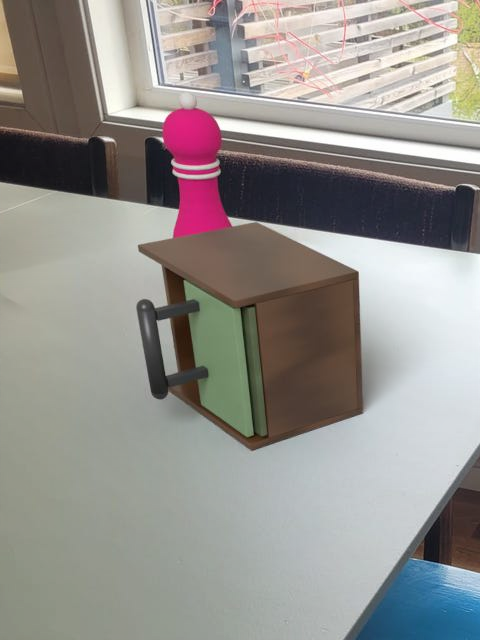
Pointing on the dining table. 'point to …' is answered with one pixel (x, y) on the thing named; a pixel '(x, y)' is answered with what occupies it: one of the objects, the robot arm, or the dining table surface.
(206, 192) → the pepper mill
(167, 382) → the closet door
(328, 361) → the cupboard
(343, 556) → the dining table surface
